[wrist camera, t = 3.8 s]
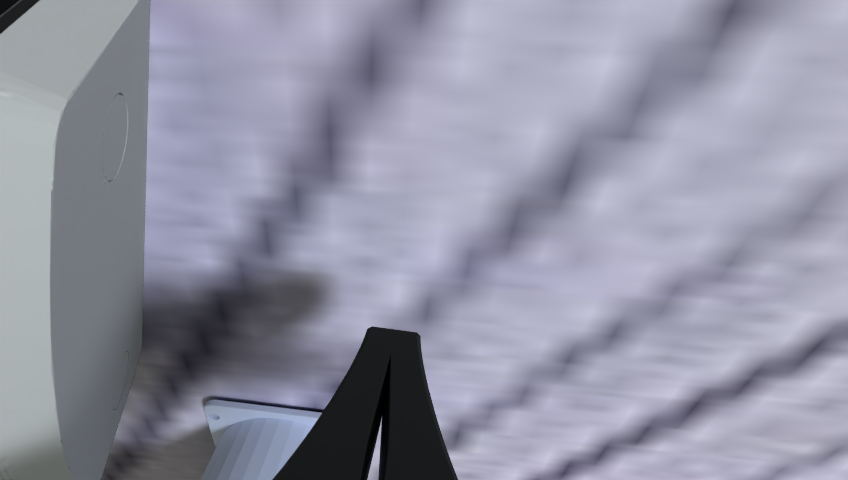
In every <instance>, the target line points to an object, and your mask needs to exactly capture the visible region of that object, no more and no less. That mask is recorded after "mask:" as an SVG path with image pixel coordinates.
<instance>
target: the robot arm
mask: <svg viewBox="0 0 848 480" xmlns="http://www.w3.org/2000/svg"><path fill="white" fill-rule="evenodd" d="M204 412H205V415H206V418H207V422H208V425H209V428H210V432H211V435H212V438H213V441H214V445H215V448H216V449H215V451H214V453H213V455H212V457H211V459H210V461H209V463H208V465H207V467H206V469H205V471H204V473H203V475H202V478H201V480H367V478H368V474H369V469H370V465H371V461H372V457H373V452H374V448H375V444H376V440H377V435H378V431H379V427H380V422H381V418H382V429H381V446H380V464H379V480H458V478H457V476H456V473H455V471H454V468H453V466H452V463H451V460H450V457H449V455H448V452H447V449H446V446H445V443H444V440H443V437H442V434H441V431H440V428H439V425H438V421H437V418H436V415H435V411H434V407H433V404H432V400H431V396H430V393H429V389H428V384H427V380H426V375H425V370H424V365H423V359H422V352H421V342H420V335H419V334H418V333H416V332H409V331H401V330H394V329H386V328H379V327H370V328H368V329H367V332H366V335H365V338H364V340H363V342H362V345H361V347H360V349H359V351H358V353H357V355H356V357H355V359H354V361H353V363H352V365H351V367H350V369H349V370H348V372H347V374H346V376H345V377H344V379H343V381H342V382H341V384H340V386H339V387H338V389H337V391H336V392H335V394H334V396H333V397H332V399H331V400H330V402H329V403H328V405H327V406H326V408H325V409H324V411H323V412H313V411H305V410H297V409H289V408H281V407H272V406H264V405H256V404H248V403H240V402H231V401H223V400H209V401H207V403H206V405H205V406H204Z"/></svg>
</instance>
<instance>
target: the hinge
mask: <svg viewBox="0 0 848 480" xmlns="http://www.w3.org/2000/svg"><path fill="white" fill-rule="evenodd" d="M149 35H150V0H0V480H101V478H102V475H103V471H104V468H105V465H106V462H107V459H108V456H109V453H110V449H111V446H112V443H113V440H114V437H115V434H116V431H117V427H118V424H119V421H120V418H121V415H122V412H123V409H124V405H125V402H126V399H127V396H128V393H129V390H130V387H131V383H132V380H133V377H134V374H135V371H136V368H137V365H138V361H139V358H140V355H141V352H142V323H143V282H144V241H145V200H146V158H147V117H148V76H149Z"/></svg>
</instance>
